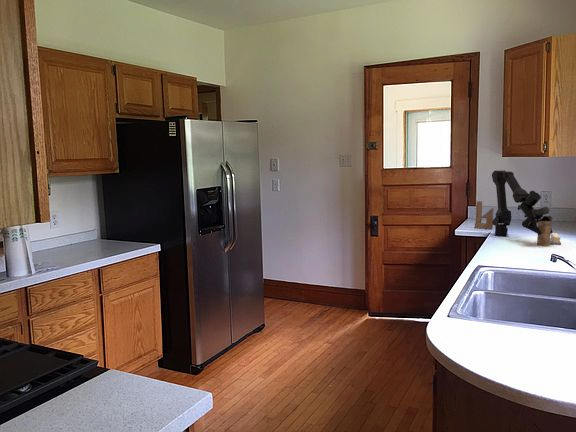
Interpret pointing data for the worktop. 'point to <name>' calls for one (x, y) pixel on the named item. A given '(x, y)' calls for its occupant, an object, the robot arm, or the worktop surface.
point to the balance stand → (555, 239)
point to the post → (544, 233)
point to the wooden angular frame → (479, 216)
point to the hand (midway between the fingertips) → (546, 233)
